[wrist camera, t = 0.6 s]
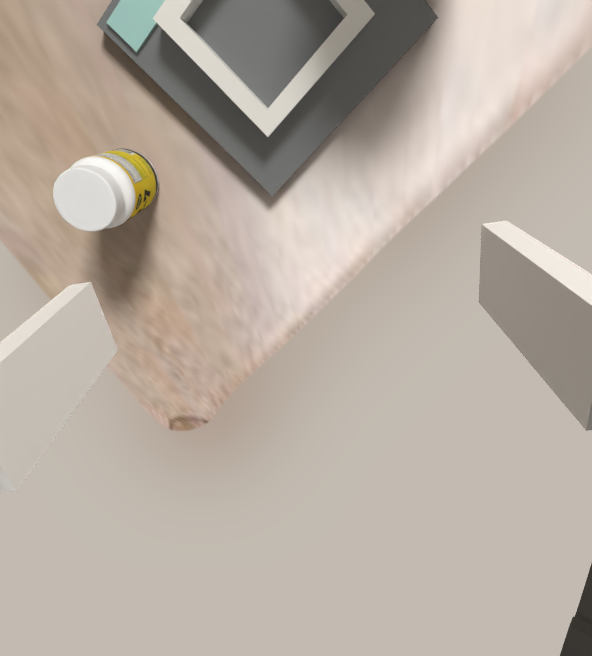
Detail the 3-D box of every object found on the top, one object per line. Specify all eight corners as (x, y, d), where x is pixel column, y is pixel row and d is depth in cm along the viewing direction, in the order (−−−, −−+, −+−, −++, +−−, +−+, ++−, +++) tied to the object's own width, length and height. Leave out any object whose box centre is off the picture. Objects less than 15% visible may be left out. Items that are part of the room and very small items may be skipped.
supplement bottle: (134, 221, 37) (90, 252, 30) (88, 176, 36) (29, 197, 28) (172, 182, 36) (137, 205, 28) (126, 133, 34) (75, 143, 27)
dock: (104, 27, 31) (83, 20, 28) (258, -215, 25) (252, -255, 23) (273, 193, 36) (270, 201, 33) (433, 20, 30) (446, 12, 27)
